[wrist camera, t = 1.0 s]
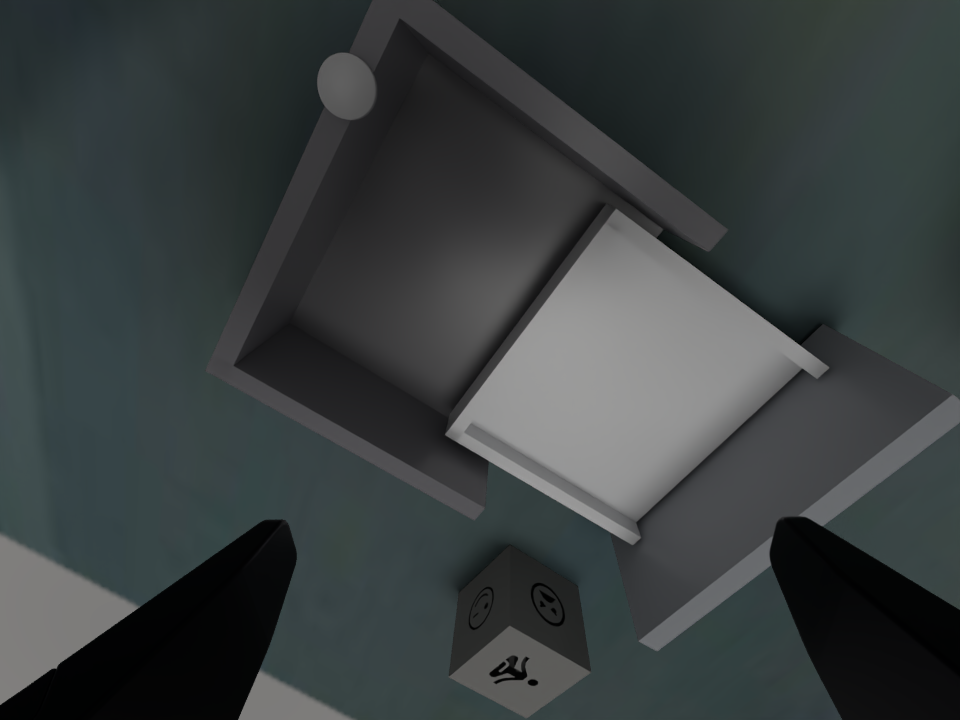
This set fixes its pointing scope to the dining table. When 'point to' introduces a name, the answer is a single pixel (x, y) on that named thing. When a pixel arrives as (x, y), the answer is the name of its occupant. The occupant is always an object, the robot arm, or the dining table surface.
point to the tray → (686, 420)
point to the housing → (423, 241)
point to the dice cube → (519, 634)
